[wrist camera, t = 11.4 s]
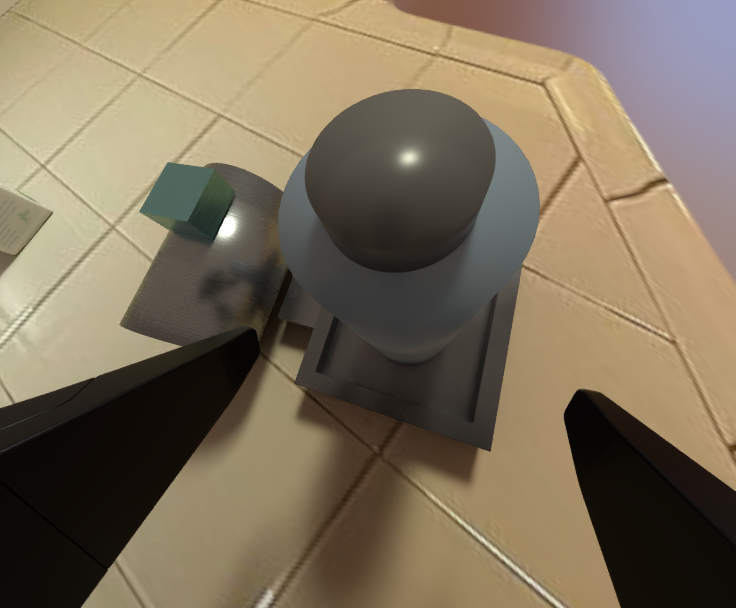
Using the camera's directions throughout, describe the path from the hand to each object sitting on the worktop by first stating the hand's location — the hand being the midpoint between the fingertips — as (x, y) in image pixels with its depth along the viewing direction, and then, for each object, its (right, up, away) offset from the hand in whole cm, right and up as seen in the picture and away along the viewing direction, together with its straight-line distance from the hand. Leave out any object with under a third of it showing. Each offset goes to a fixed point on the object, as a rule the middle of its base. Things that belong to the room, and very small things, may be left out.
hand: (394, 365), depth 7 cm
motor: (-3, +1, +11) cm, 12 cm away
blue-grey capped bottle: (+2, 0, +9) cm, 9 cm away
